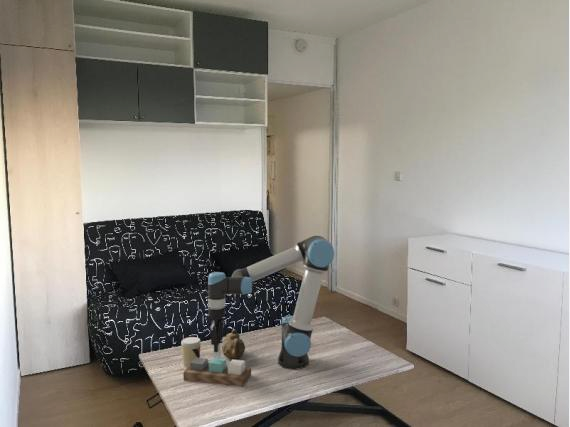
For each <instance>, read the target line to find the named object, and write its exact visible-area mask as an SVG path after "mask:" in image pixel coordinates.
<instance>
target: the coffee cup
mask: <svg viewBox="0 0 570 427" xmlns="http://www.w3.org/2000/svg"><path fill="white" fill-rule="evenodd" d="M201 343H202V341H201V338H199V337H194V336H189V337H185V338H183V339H182V340H181V342H180V344H181V355H182V363H183V366H184V367H185V368H188V367H189V366H190V363H191V362H192V361H193V360H194V359H195V358H201Z"/></svg>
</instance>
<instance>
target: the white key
mask: <svg viewBox="0 0 570 427" xmlns="http://www.w3.org/2000/svg"><path fill="white" fill-rule="evenodd" d="M230 360H231V361H229V363H228V374H235V375H242V373H243V372H244V371H245V366H246V360H243V359H230Z"/></svg>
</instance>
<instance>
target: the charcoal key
mask: <svg viewBox="0 0 570 427" xmlns="http://www.w3.org/2000/svg"><path fill="white" fill-rule="evenodd" d="M208 363H209V359H208V358H202V357H200V358H195V359H194V360H193V361H192V362H191V363H190V370H198V371H204V370H205V369H206V368H207V366H208Z"/></svg>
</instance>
